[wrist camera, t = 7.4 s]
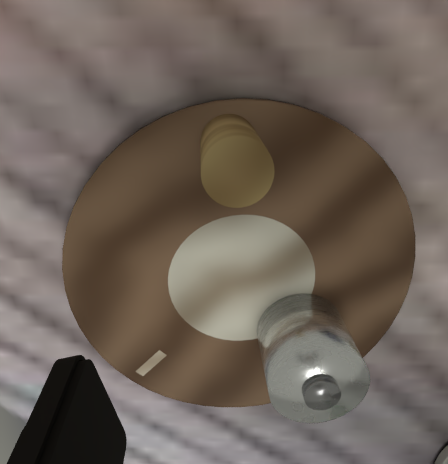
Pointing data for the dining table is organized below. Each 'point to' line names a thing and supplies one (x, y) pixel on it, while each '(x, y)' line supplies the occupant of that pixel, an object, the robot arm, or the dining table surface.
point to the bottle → (310, 360)
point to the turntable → (232, 243)
